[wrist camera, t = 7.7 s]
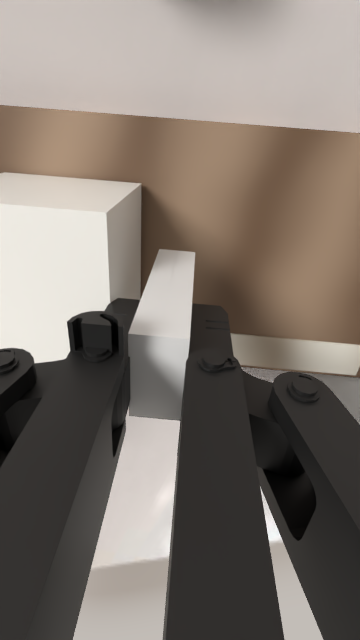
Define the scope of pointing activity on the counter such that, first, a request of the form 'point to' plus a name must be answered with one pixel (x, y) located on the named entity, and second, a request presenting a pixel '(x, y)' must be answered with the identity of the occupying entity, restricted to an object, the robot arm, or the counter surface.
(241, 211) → the gauge board
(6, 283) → the gauge slider
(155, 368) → the robot arm
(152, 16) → the counter surface
